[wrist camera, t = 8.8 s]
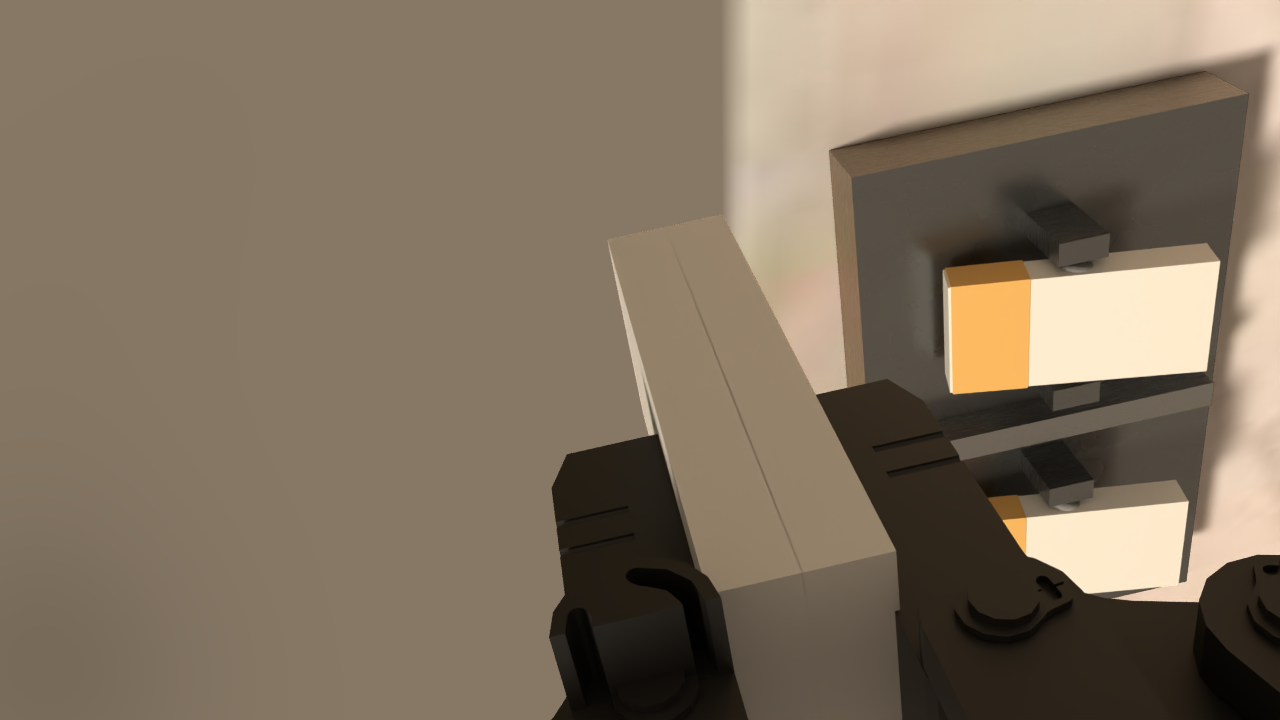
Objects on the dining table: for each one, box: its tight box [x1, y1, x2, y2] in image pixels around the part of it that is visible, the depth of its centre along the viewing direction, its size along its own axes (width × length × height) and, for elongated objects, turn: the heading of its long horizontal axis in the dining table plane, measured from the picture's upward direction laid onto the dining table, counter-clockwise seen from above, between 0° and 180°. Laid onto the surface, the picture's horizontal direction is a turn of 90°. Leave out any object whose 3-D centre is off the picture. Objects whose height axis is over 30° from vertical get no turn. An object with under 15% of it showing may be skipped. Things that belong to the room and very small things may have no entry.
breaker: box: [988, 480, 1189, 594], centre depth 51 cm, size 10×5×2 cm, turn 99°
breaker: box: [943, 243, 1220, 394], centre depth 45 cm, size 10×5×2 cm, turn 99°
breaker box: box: [829, 71, 1249, 599], centre depth 50 cm, size 16×26×6 cm, turn 9°
